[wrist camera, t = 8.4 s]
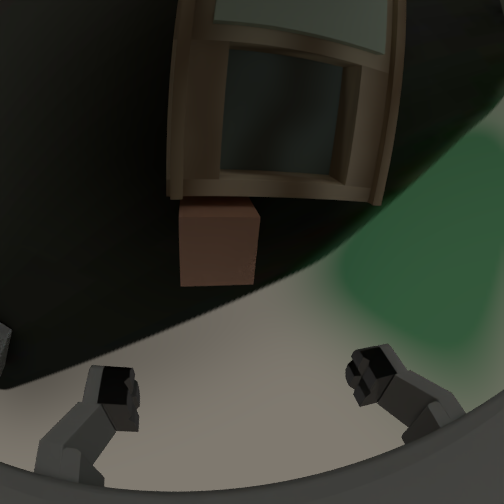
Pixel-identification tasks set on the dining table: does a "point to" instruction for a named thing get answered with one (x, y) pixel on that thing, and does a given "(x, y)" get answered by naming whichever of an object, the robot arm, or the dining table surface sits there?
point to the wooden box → (279, 110)
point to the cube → (217, 240)
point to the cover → (313, 19)
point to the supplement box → (4, 344)
